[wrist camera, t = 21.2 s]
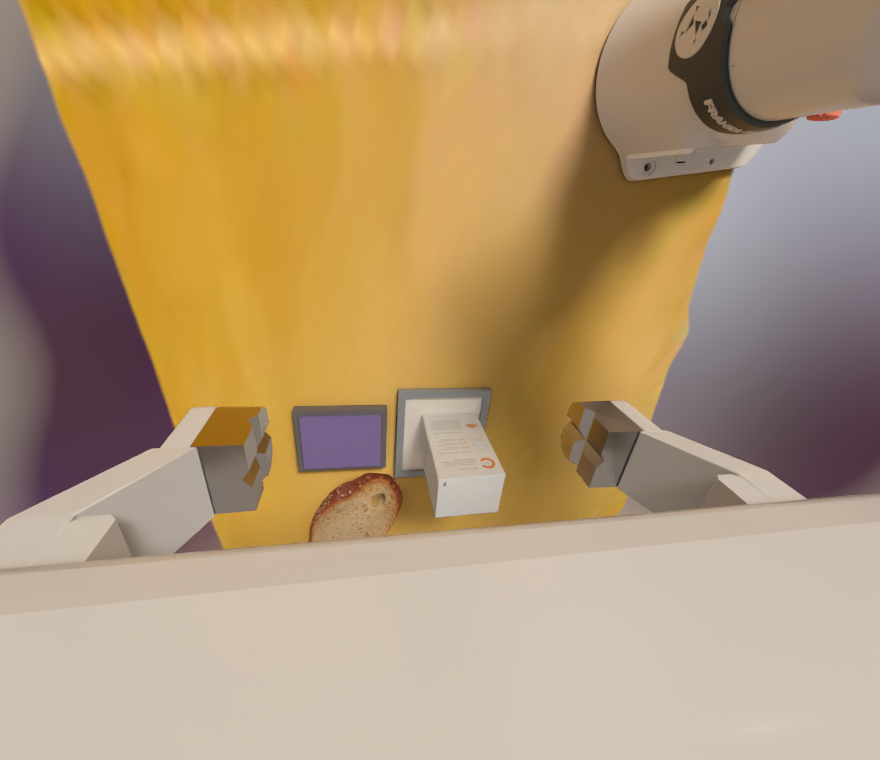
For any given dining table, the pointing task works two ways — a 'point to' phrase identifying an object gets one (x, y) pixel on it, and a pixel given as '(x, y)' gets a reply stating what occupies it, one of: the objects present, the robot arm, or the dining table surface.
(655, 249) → the dining table surface
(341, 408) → the ink pad
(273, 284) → the dining table surface
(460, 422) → the small box
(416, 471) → the print frame
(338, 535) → the bread slice
